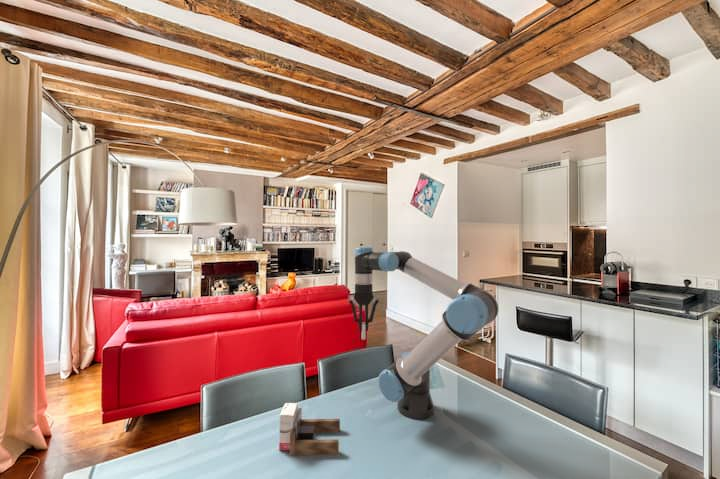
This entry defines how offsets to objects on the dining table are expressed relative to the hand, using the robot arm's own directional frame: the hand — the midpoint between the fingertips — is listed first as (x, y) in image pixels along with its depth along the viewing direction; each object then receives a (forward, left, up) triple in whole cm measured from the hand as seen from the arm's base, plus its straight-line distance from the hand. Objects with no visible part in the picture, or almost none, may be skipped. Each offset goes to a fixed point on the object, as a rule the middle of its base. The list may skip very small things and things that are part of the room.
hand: (363, 338), depth 131 cm
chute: (+17, +22, -29) cm, 40 cm away
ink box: (+27, +22, -30) cm, 46 cm away
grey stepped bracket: (+22, +22, -29) cm, 42 cm away
